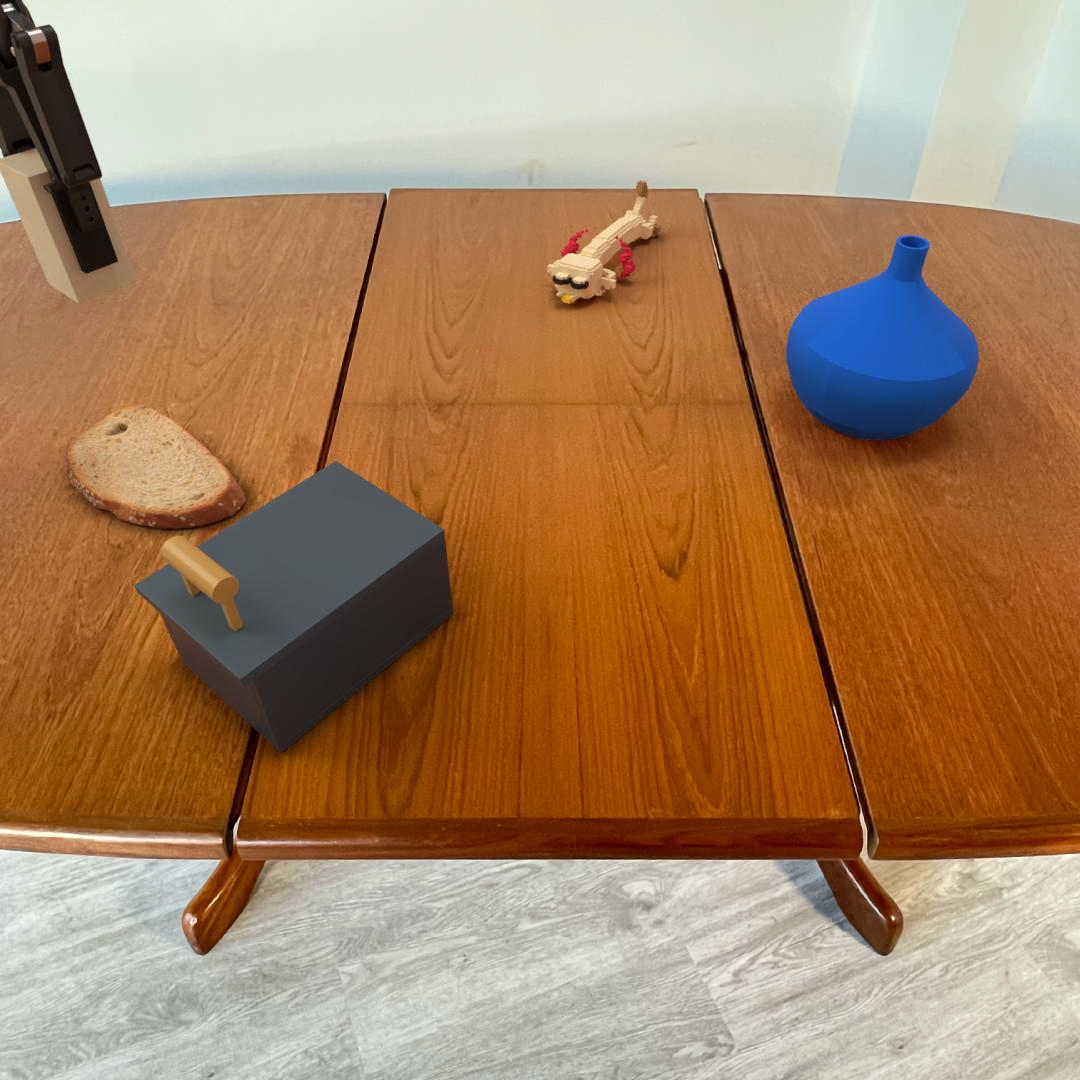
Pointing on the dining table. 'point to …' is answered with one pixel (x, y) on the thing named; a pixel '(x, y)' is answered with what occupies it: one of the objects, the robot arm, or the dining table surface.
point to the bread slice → (151, 471)
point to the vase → (882, 352)
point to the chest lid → (286, 569)
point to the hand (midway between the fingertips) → (81, 254)
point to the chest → (333, 653)
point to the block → (61, 231)
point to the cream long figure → (602, 254)
